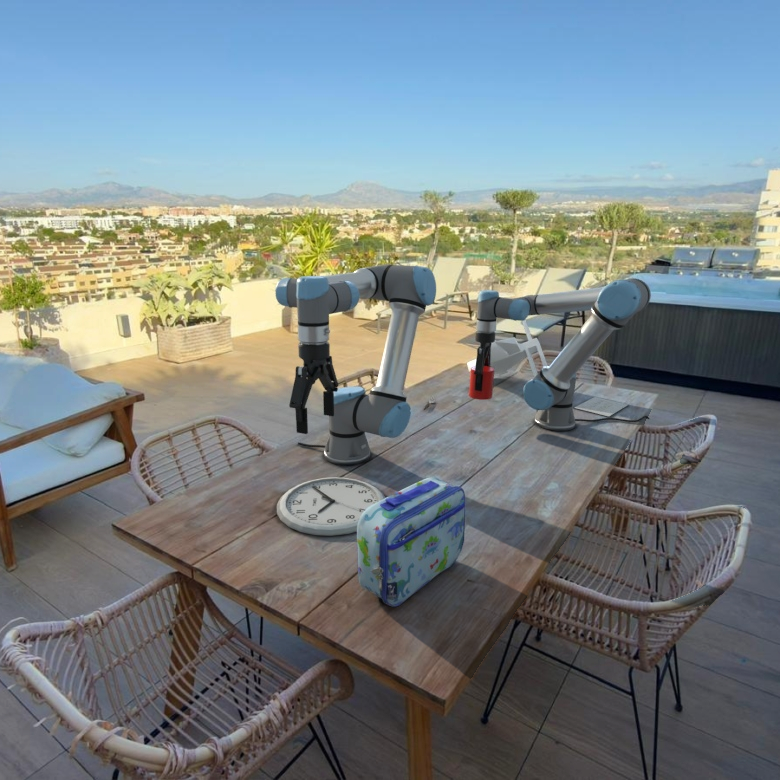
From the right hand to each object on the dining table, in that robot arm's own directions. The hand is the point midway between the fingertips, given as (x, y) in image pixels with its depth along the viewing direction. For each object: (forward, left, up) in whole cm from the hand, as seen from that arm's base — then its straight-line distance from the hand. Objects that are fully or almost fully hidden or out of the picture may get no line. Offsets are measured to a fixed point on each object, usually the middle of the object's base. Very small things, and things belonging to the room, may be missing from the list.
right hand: (481, 387), depth 208 cm
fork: (+21, -11, -13) cm, 27 cm away
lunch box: (+19, +105, -13) cm, 108 cm away
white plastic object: (-15, -51, -13) cm, 54 cm away
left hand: (+46, +80, +12) cm, 93 cm away
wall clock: (+43, +77, -13) cm, 89 cm away
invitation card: (-53, -22, -13) cm, 59 cm away
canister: (0, 0, -4) cm, 4 cm away
